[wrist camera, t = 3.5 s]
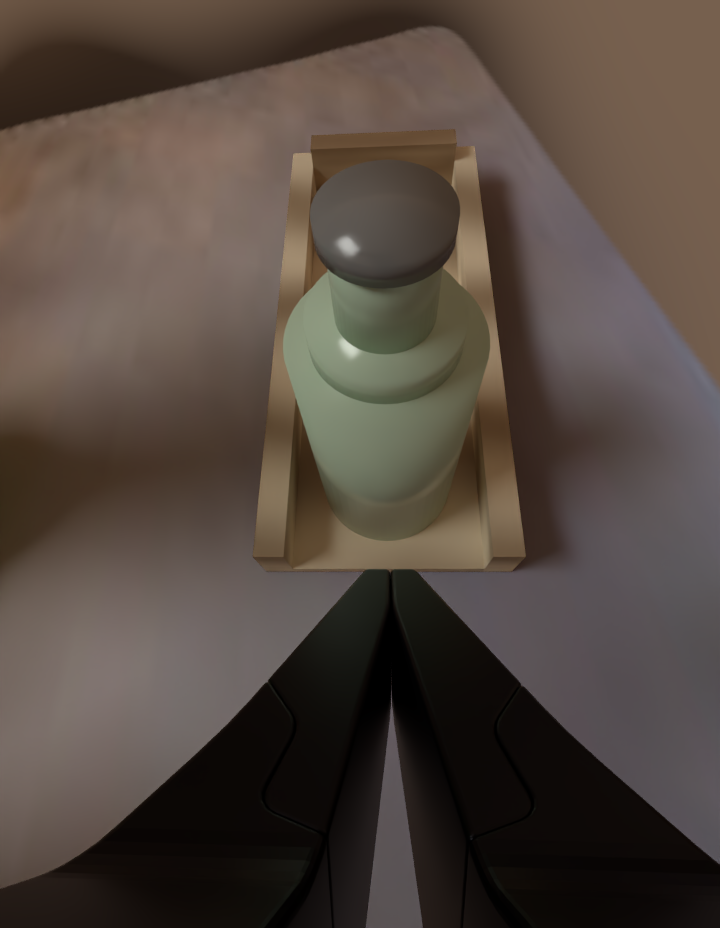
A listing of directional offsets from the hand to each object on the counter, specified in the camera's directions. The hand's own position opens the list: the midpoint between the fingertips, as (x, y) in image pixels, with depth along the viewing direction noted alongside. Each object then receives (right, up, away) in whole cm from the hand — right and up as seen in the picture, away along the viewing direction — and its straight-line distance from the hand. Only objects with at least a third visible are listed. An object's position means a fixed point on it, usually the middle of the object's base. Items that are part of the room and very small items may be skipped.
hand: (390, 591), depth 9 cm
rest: (+1, +8, +18) cm, 20 cm away
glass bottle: (+1, +1, +14) cm, 14 cm away
